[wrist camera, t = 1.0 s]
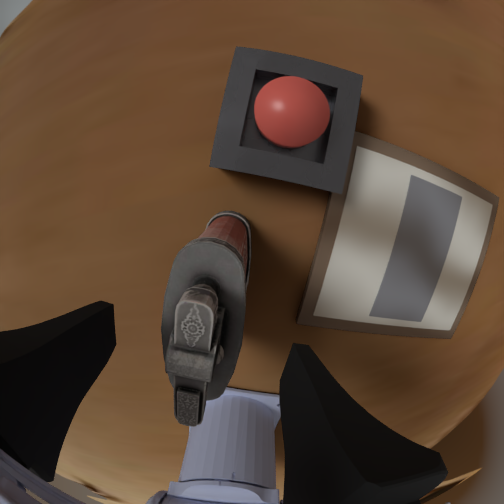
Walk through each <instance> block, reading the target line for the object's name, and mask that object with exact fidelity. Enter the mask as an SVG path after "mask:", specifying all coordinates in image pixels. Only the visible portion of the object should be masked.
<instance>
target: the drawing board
mask: <svg viewBox="0 0 504 504" xmlns="http://www.w3.org/2000/svg"><path fill="white" fill-rule="evenodd" d="M498 202H499V197H497V196H496V195H494V194H493V193H491V192H489V191H488V190H486V189H484V188H483V187H481V186H479V185H477V184H476V183H474V182H472V181H470V180H469V179H467V178H465V177H463V176H461V175H459V174H457V173H455V172H453V171H451V170H449V169H447V168H445V167H443V166H441V165H439V164H437V163H435V162H433V161H431V160H429V159H426V158H424V157H422V156H420V155H417V154H415V153H413V152H410V151H408V150H406V149H403V148H401V147H398V146H396V145H393V144H391V143H388V142H385V141H383V140H380V139H377V138H374V137H371V136H369V135H366V134H363V133H360V132H357V131H355V132H354V138H353V143H352V148H351V154H350V159H349V164H348V168H347V173H346V178H345V182H344V187H343V191H342V194H338V193H334V192H331V191H330V194H329V198H328V203H327V207H326V211H325V215H324V219H323V223H322V227H321V231H320V235H319V239H318V243H317V247H316V251H315V255H314V258H313V262H312V266H311V269H310V273H309V276H308V280H307V283H306V287H305V290H304V294H303V297H302V301H301V304H300V307H299V311H298V314H297V317H296V323H297V324H301V325H308V326H315V327H322V328H330V329H337V330H346V331H354V332H364V333H373V334H384V335H396V336H409V337H424V338H443V339H451V338H452V336H453V334H454V332H455V330H456V328H457V326H458V324H459V322H460V319H461V317H462V315H463V313H464V311H465V308H466V306H467V304H468V301H469V299H470V296H471V294H472V291H473V289H474V286H475V284H476V281H477V278H478V275H479V273H480V270H481V267H482V264H483V261H484V258H485V254H486V251H487V248H488V244H489V241H490V237H491V233H492V229H493V225H494V221H495V217H496V212H497V207H498Z"/></svg>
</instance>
